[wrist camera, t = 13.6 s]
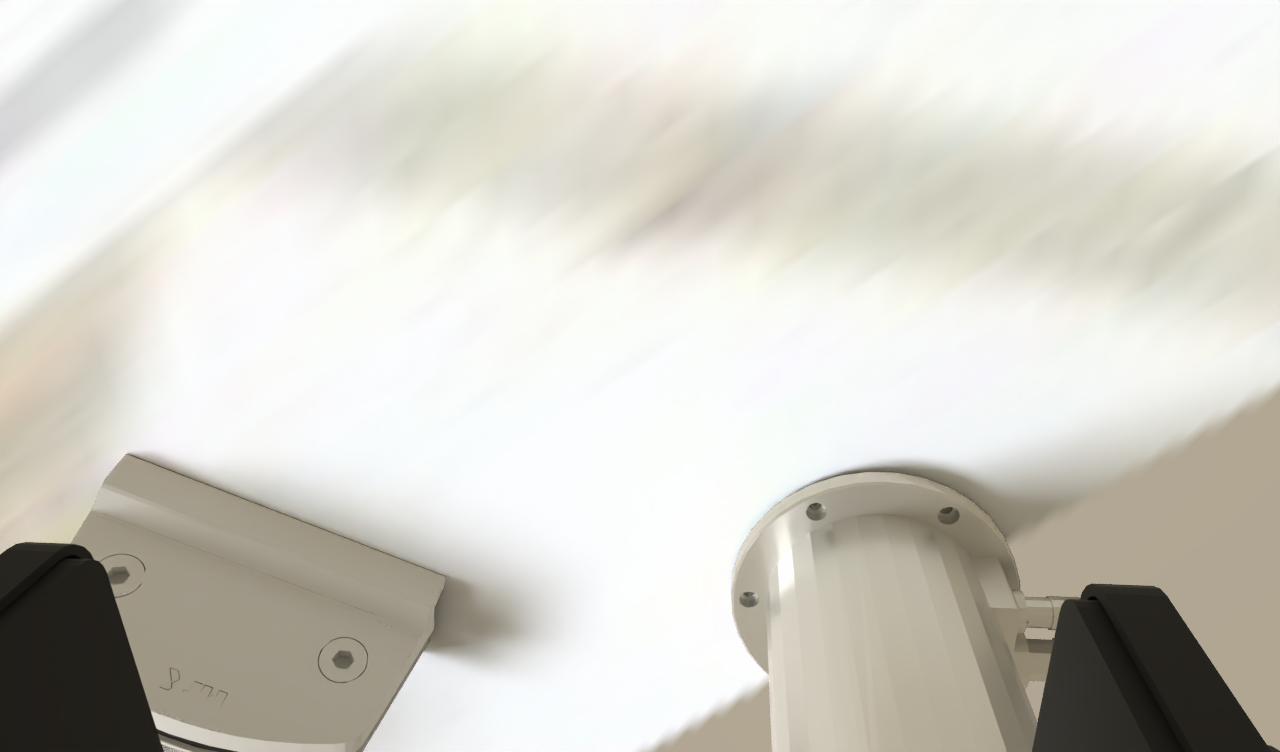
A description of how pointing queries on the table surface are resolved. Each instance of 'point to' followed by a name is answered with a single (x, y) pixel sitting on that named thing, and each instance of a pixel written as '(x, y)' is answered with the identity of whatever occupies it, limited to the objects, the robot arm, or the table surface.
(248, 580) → the hinge
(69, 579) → the robot arm
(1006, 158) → the table surface
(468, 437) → the table surface
